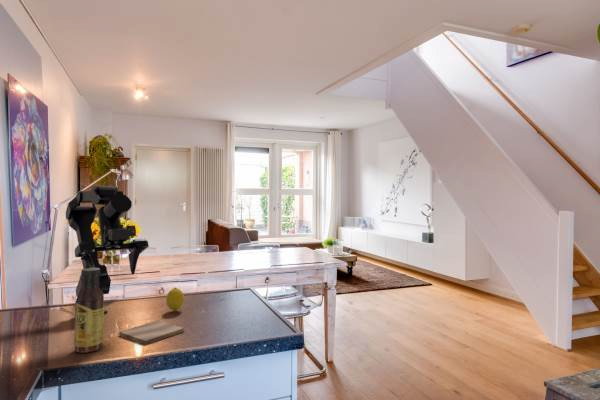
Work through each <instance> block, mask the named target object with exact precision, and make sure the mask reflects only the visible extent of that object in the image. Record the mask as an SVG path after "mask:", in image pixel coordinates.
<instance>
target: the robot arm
mask: <svg viewBox="0 0 600 400" xmlns="http://www.w3.org/2000/svg"><path fill="white" fill-rule="evenodd" d="M83 203H84V204H92V206H90V205H81V204H83ZM132 204H133V203H132V200H131V199H130V197H128V196H127V195H125V194H124V191H123V190H119V187H118V186H115V185H114V186H113V185H111V186H110V185H95V186H93V187H92V188H91V190H80V191H77V192H76V195H75V197H74V198H73V199H72V200H70V201H69V202H68V203H67V206H66V211H65V219H66V220H67V223H68V225H69V227H70V228H71V229H72V230H73V231H74V232H75V233H76V237H77V238H76V239H77V242H78V245H76V247H75V248H74V258H80V260H81V263H82V267H83V268H82V269H85V268H100V275H99V288H100V289H101V291H102V292H103V295H108V294H110V289H111V282H112V280H111V276H110V275H109V273H108V268H107V266H106V264H101V263H100V261H99V260H100V259H99V258H98V254H99V253H98V252H113V251H126V250H128V252H130V253H128V262H129V268H130V269H129V270H130V273H131V276H132V275H135V272H136V269H137V268H136V267H137V263H138V261H139V260H138V259H139V258H140V257H139V256H140V255H141V254H142V253H144V251H146V250H147V249H148V248H149V247H150V245H149V240H147V239H146V238H135V239H133V240H132V241H131V242H127V241H129V240H130V239H131V237H136V235H137V229H136V225H132V224H131V225H127V226H126V228H124V225H123V224H121V223H122V222H121V219H122V218H123V217H124V216H125V214H127V213H128V212H129V211H130V210H131V208H132V206H133V205H132ZM80 205H81V206H80ZM97 205H98V206H100V207H99V209H97ZM101 205H103V206H101ZM96 214H97V215H96ZM96 216H97V217H98V226H99V232H98V235H99V236H100V243H101V244H96V242H95V239H94V234H93V229H92V225H93V222H94V221H95V217H96ZM126 242H127V243H126ZM81 285H82V275H81V274H80V276H79V280H78V283H77V284H76V287H75V296H76V297H78V294H79V292H80V289H81ZM108 312H109V311H108V310H105V309H104V314H107V313H108Z"/></svg>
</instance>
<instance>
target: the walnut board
mask: <svg viewBox="0 0 600 400" xmlns="http://www.w3.org/2000/svg"><path fill="white" fill-rule="evenodd" d="M184 332H185V327H181V326H178V325H174V324H171V323H168V322H164V321H161V320H156V321H152V322H148V323H145V324H142V325H138V326H134V327H131V328H128V329H123V330H121V331H119V332H118V333H119V336H120V337H123V338H125V339H128V340H131V341H134V342H136V343H139V344H142V345H145V346H146V345H149V344H152V343H154V342H158V341H160V340H163V339H167V338H169V337H173V336H174V335H175V336H177V335H178V334H180V333H181V334H182V333H184Z"/></svg>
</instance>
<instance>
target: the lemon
mask: <svg viewBox="0 0 600 400" xmlns="http://www.w3.org/2000/svg"><path fill="white" fill-rule="evenodd" d="M184 301H185V296H184V293H183V291H182V290H181V289H180V288H177V287H173V288H172V289H170V290H169V291H168V293H167V295H166V305H167V307H168V309H170V310H172V311H174V312H177V311H178V310H179V309H181V308H182V307H183V305H184Z"/></svg>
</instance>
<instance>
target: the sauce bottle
mask: <svg viewBox="0 0 600 400" xmlns="http://www.w3.org/2000/svg"><path fill="white" fill-rule="evenodd" d="M80 272H81V273H80V276H81V275H82V285H81V289H80V292H79V294H78V297H77V296H76V297H77V298H76V299H75V301H74V303H75V304H74V337H73V338H74V342H73V343H74V344H73V345H74V351H75V352H77V353H79V354H80V353H81V354H88V353H92V352H96V351H98V350H100V349H102V347H103V343H104V319H105V315H104V314H105V313H104V310H105V306H104V305H105V300H104V298H105V297H104V296H105V294H103V292H102V291H101V289H100V288H99V275H100V268H85V269H83V268H82V269H81V271H80Z"/></svg>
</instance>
